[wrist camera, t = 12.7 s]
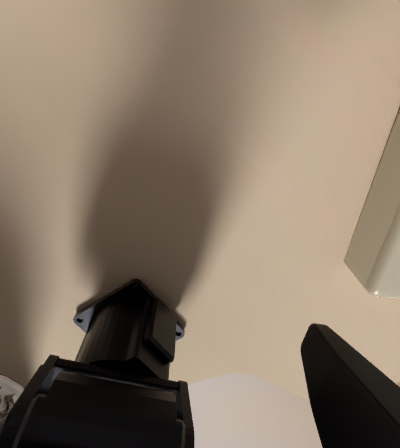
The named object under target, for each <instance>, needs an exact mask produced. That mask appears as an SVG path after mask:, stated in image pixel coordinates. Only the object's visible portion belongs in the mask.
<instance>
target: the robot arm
mask: <svg viewBox="0 0 400 448" xmlns="http://www.w3.org/2000/svg"><path fill="white" fill-rule="evenodd" d="M134 285H137V286H138V287H134ZM79 318H82V319H79ZM73 320H74V322H75V324H77V325H78V326H79V327H80V328H81V329H82V330H83V331H84V332H85V333H86V335H85V337H84V340H83V342H82V345H81V347H80V349H79V352H78V354H77V357H76V359H75V361H71V360H66V359H61V358H59V356H55V355H50V356H49V357H48V358H47V360H46V361H45V363H44V364H43V365H41V366H40V367H39V369H38V370H37V372H36V373H35V374H34V376H33V377H32V379H31V380H30V382H29V383H28V385H27V386H26V388H25V389H24V391H23V392H22V394H21V395H20V396H19V398H18V399H17V401H16V402H15V404H14V405H13V407H12V408H11V410H10V411H9V412H8V414H7V415H6V416H5V417H4V418H3V419H2V420H1V421H0V448H194V427H193V420H192V413H191V406H190V399H189V392H188V385H187V382H185V381H180V380H179V381H178V382H176V381H171V380H168V378H169V366H170V363H171V362H173V360H174V354H175V341H176V340H178V339H180V338H182V337H183V336H184V328H183V327H182V325H181V324H180V323H179V322H178V321H177V318H176V317H175V315H174V314H173V313H172V312H171V311H170V310H169V309H168V308H167V307H166V306H165V304H164V303H163V302H162V301H161V300H160V299H159V298H157V297H155V296H154V295H153V294H152V292H151V291H150V290H149V289H148V288H147V287H146V286H145V285H144V284H143V283H142V282H141V281H140V280H138V279H134V280H132V281H130V282H128V283H127V284H125V285H123V286H122V287H120V288H118V289H116V290H115V291H113V292H111V293H110V294H108V295H106V296H105V297H103V298H101V299H100V300H98V301H96V302H95V303H93V304H91V305H90V306H88V307H86V308H84V309H83V310H81V311H79V312H78V313H76V315H75V317H74V319H73ZM178 332H179V333H178ZM301 356H302V361H303V367H304V372H305V378H306V383H307V389H308V394H309V399H310V404H311V408H312V412H313V416H314V419H315V423H316V426H317V430H318V433H319V437H320V440H321V443H322V447H323V448H400V387H399V386H398V385H396V384H395V383H394V382H393V381H392V380H390V379H389V378H388V377H387V376H386V375H385V374H383V373H382V372H381V371H380V370H379V369H378V368H376V367H375V366H374V365H373V364H372V363H370V362H369V361H368V360H367V359H366V358H365V357H363V356H362V355H361V354H360V353H359V352H358V351H356V350H355V349H354V348H353V347H352V346H350V345H349V344H348V343H347V342H346V341H345V340H343V339H342V338H341V337H340V336H339V335H337V334H336V333H335V332H334V331H333V330H332V329H330V328H329V327H328V326H326V325H323V324H315V323H313V324H311V325H310V326H309V328H308V330H307V333H306V335H305V337H304V339H303V342H302V344H301Z"/></svg>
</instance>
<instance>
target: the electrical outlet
mask: <svg viewBox="0 0 400 448" xmlns="http://www.w3.org/2000/svg"><path fill="white" fill-rule="evenodd" d="M344 263H345V264H346V266H347V267H348V268H349V269H350V271H351V272H352V273H353V274H354V276H355V277H356V278H357V280H358V281H359V282H360V283H361V285H362V286H363V287H364V288H365V289H366V291H367V292H368V293H369V294H370V295H372V296H375V297H387V298H399V299H400V110H399V113H398V115H397V118H396V121H395V123H394V126H393V129H392V131H391V134H390V137H389V140H388V142H387V145H386V148H385V150H384V153H383V156H382V158H381V161H380V164H379V167H378V169H377V172H376V175H375V177H374V180H373V183H372V185H371V188H370V191H369V193H368V196H367V199H366V202H365V204H364V207H363V210H362V212H361V215H360V218H359V220H358V223H357V226H356V228H355V231H354V234H353V237H352V239H351V242H350V245H349V247H348V250H347V253H346V256H345V258H344Z"/></svg>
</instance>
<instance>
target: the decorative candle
mask: <svg viewBox="0 0 400 448" xmlns="http://www.w3.org/2000/svg"><path fill="white" fill-rule="evenodd" d="M23 391H24V388H23V387H22V386H21V385H20V384H18V383H16V382H15V381H13V380H11V379H9V378H8V377H6V376H3V375H0V421H1V420H2V419H3V418H4V417H5V416H6V415H7V414H8V412H9V411H10V410H11V408H12V407H13V405H14V404H15V402H16V401H17V399H18V398H19V396H20V395H21V394H22V392H23Z"/></svg>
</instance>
